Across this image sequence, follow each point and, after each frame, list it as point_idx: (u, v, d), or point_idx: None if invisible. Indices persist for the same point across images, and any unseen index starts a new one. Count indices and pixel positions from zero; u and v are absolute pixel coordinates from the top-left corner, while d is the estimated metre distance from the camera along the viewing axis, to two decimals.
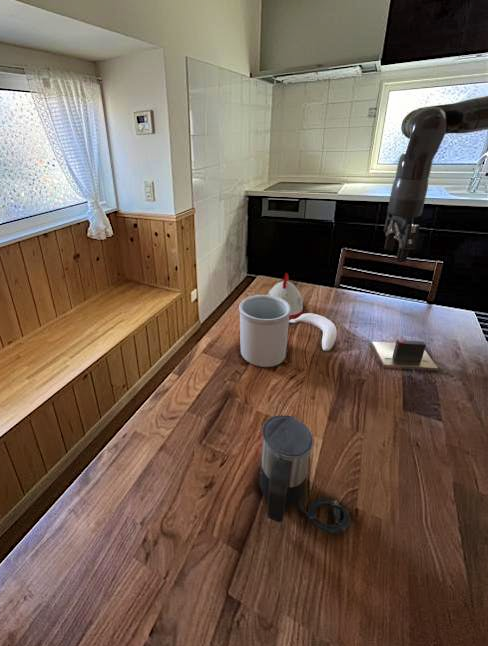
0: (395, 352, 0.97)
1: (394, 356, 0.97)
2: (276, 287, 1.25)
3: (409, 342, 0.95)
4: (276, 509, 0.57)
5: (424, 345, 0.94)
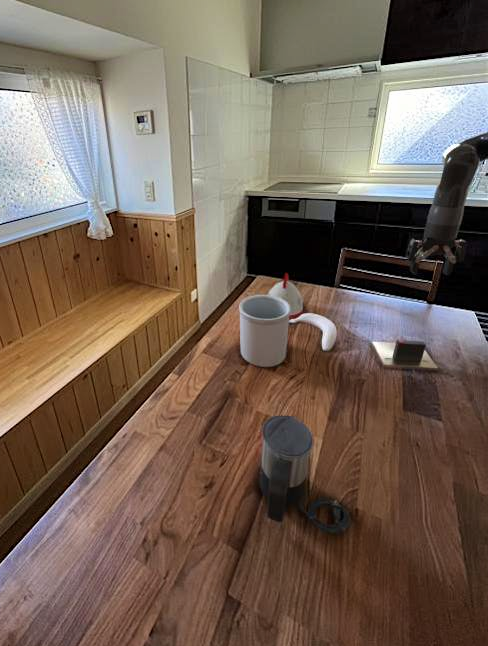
0: (395, 352, 0.97)
1: (394, 356, 0.97)
2: (276, 287, 1.25)
3: (409, 342, 0.95)
4: (276, 509, 0.57)
5: (424, 345, 0.94)
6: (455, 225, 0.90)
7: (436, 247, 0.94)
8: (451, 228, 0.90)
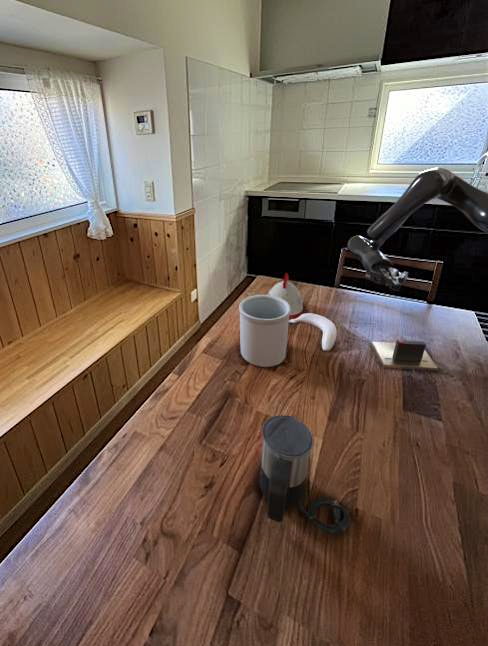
0: (395, 352, 0.97)
1: (394, 356, 0.97)
2: (276, 287, 1.25)
3: (409, 342, 0.95)
4: (276, 509, 0.57)
5: (424, 345, 0.94)
6: (383, 255, 1.13)
7: (382, 268, 1.07)
8: (381, 255, 1.12)
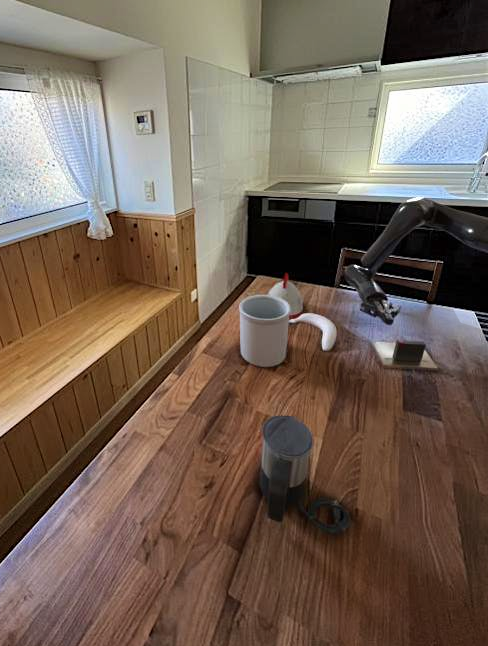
0: (395, 352, 0.97)
1: (394, 356, 0.97)
2: (276, 287, 1.25)
3: (409, 342, 0.95)
4: (276, 509, 0.57)
5: (424, 345, 0.94)
6: (377, 287, 1.17)
7: (376, 300, 1.12)
8: (375, 287, 1.16)
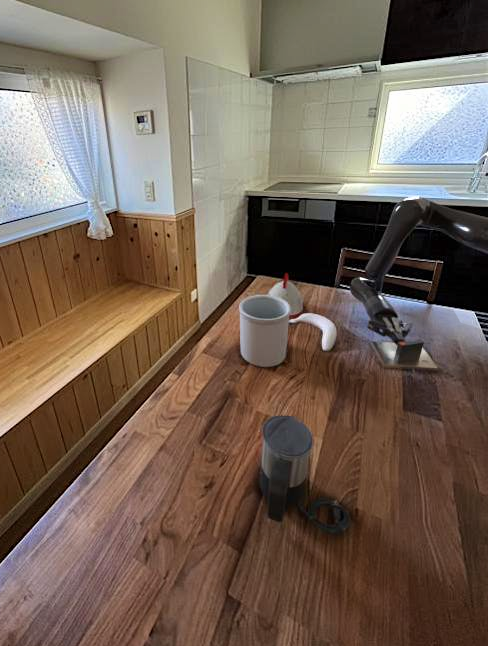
0: (397, 355, 0.96)
1: (397, 359, 0.96)
2: (276, 287, 1.25)
3: (410, 342, 0.95)
4: (276, 509, 0.57)
5: (422, 343, 0.95)
6: (386, 302, 1.09)
7: (385, 317, 1.04)
8: (384, 303, 1.09)
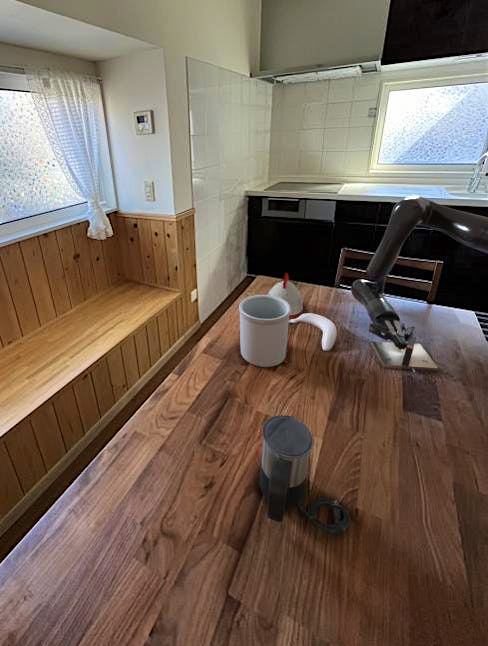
0: (407, 359, 0.94)
1: (406, 363, 0.94)
2: (276, 287, 1.25)
3: (411, 343, 0.94)
4: (276, 509, 0.57)
5: None
6: (388, 305, 1.07)
7: (387, 321, 1.02)
8: (386, 305, 1.07)
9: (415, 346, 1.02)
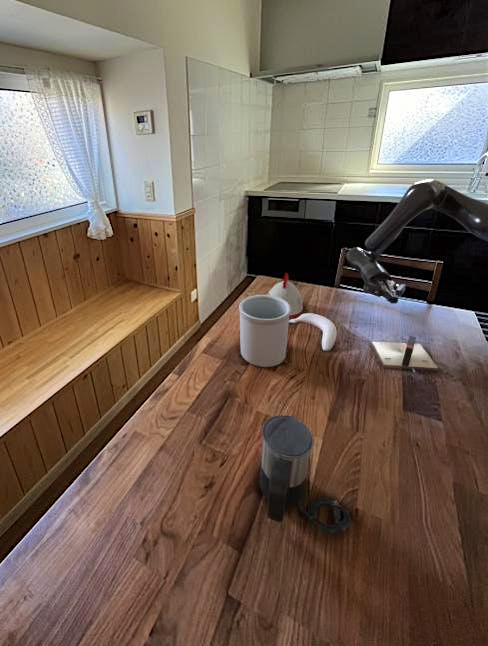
0: (407, 359, 0.94)
1: (406, 363, 0.94)
2: (276, 287, 1.25)
3: (411, 343, 0.94)
4: (276, 509, 0.57)
5: None
6: (381, 267, 1.14)
7: (380, 280, 1.09)
8: (379, 267, 1.14)
9: (415, 346, 1.02)
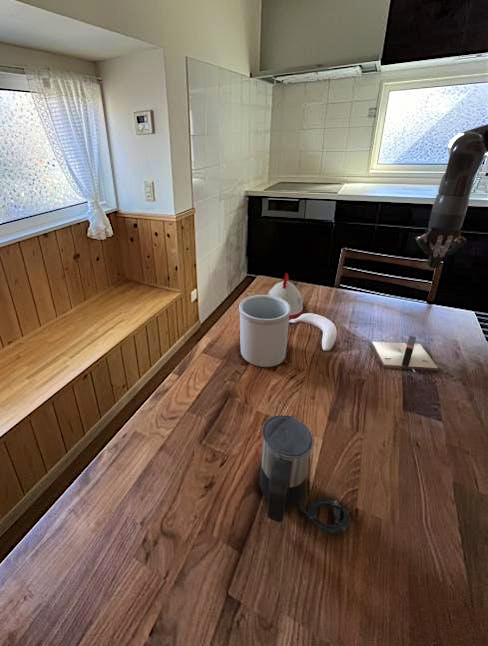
0: (407, 359, 0.94)
1: (406, 363, 0.94)
2: (276, 287, 1.25)
3: (411, 343, 0.94)
4: (276, 509, 0.57)
5: None
6: (460, 214, 0.89)
7: (441, 237, 0.94)
8: (456, 217, 0.89)
9: (415, 346, 1.02)
